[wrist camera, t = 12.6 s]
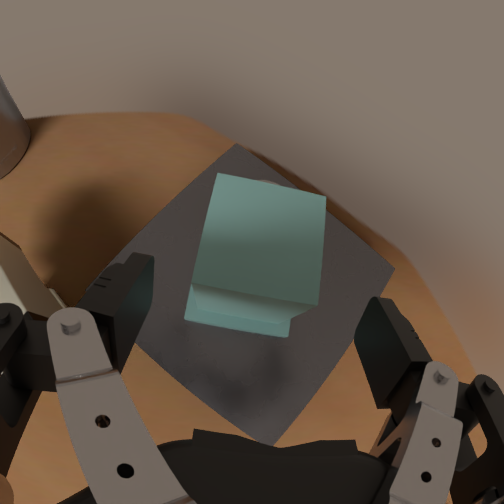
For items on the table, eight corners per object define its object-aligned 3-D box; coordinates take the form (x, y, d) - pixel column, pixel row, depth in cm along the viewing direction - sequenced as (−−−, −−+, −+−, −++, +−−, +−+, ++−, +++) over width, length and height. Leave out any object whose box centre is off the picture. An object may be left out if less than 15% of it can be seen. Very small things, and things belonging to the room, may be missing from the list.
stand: (107, 302, 23) (85, 290, 18) (231, 176, 28) (236, 143, 24) (257, 431, 21) (269, 449, 16) (365, 283, 27) (395, 268, 22)
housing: (185, 319, 19) (169, 296, 11) (208, 216, 21) (210, 143, 14) (284, 337, 19) (332, 325, 12) (297, 234, 22) (340, 172, 14)
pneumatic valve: (38, 253, 23) (-38, 191, 12) (112, 349, 22) (37, 340, 10) (4, 293, 21) (-81, 252, 10) (73, 392, 20) (-15, 408, 9)
